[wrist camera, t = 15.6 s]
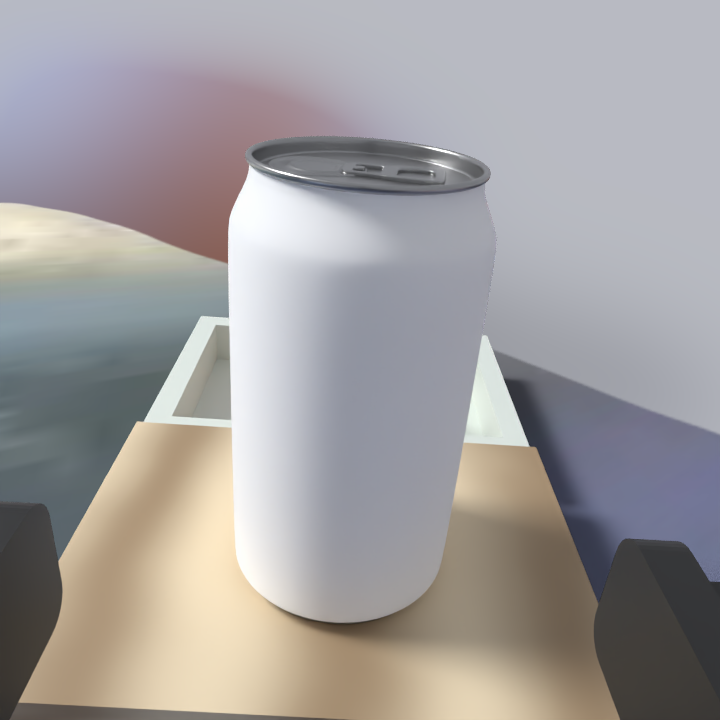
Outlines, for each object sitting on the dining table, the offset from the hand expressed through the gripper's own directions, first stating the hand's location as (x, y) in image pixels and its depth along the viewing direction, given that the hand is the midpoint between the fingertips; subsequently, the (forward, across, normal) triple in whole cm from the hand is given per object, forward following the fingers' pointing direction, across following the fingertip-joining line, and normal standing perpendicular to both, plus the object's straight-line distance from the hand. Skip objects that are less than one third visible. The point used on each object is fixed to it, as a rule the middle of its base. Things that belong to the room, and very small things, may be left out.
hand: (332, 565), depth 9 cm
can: (+9, 0, +8) cm, 12 cm away
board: (+9, 0, +11) cm, 14 cm away
